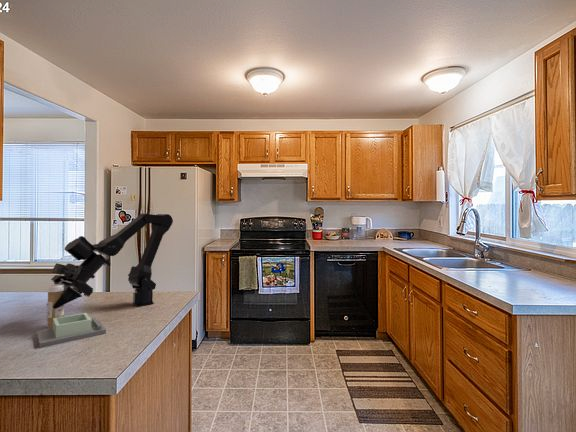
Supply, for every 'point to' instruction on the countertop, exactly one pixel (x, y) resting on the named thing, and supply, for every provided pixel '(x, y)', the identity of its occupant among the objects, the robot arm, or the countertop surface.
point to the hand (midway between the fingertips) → (50, 306)
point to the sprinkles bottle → (53, 296)
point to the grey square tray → (70, 329)
